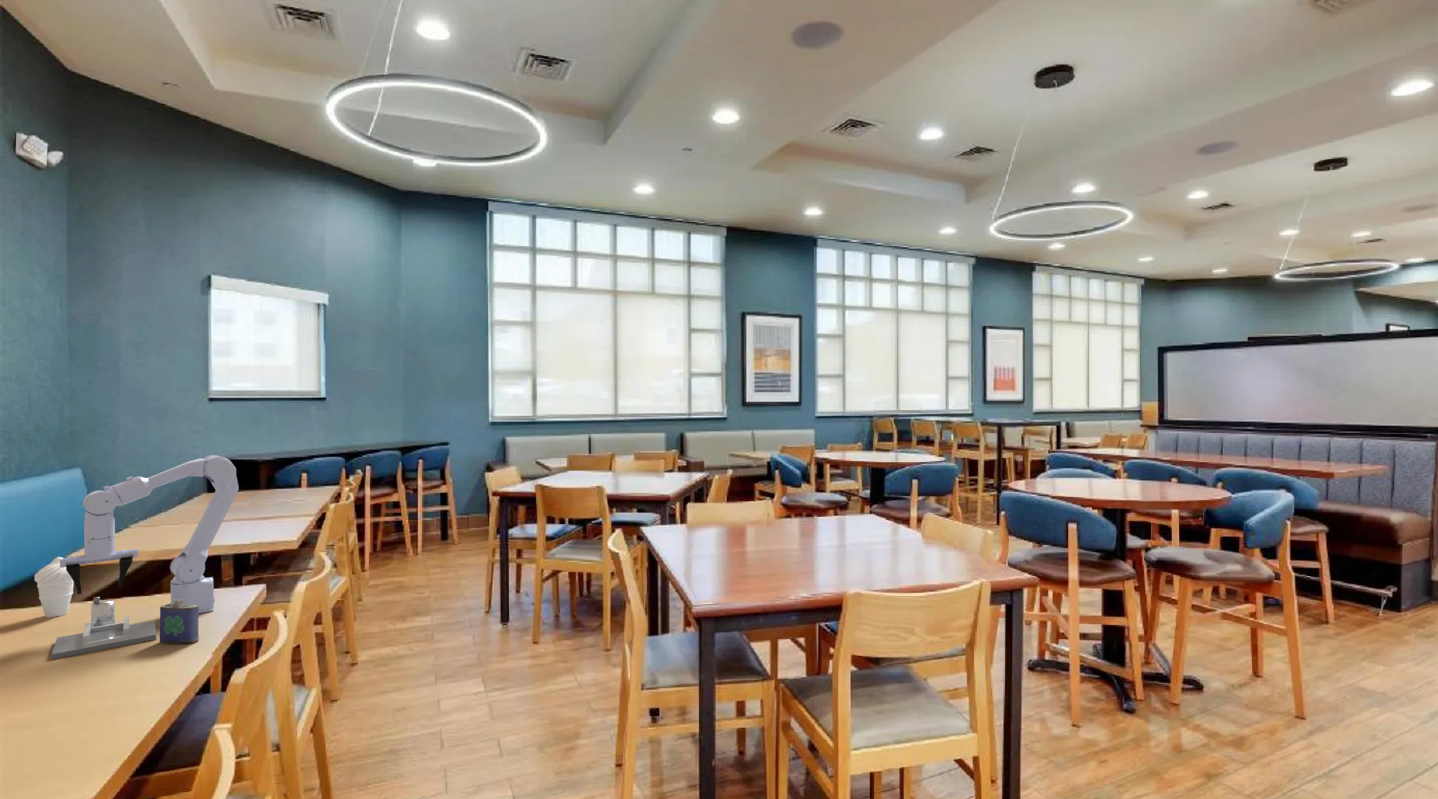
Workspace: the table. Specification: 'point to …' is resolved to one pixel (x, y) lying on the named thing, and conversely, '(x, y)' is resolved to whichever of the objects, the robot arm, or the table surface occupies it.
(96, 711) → the table surface
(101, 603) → the spout can
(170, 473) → the robot arm
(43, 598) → the soft serve ice cream cone
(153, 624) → the grey framed base plate
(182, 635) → the flask
